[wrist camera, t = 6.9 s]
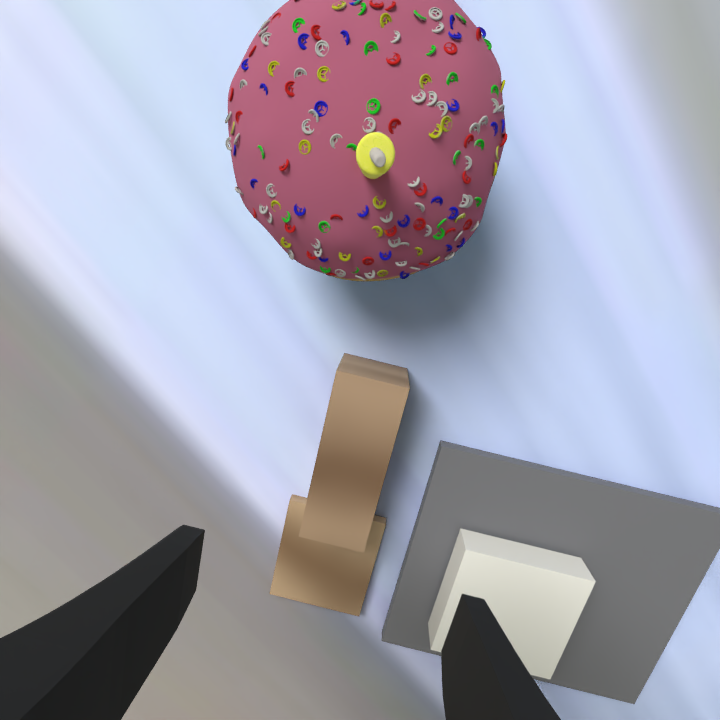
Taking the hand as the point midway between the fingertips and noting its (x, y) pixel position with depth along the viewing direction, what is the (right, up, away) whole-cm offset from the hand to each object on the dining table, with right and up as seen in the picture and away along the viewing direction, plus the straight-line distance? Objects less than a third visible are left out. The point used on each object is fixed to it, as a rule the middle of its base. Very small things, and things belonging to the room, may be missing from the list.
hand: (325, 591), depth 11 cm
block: (+9, -3, +8) cm, 12 cm away
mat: (+10, -5, +10) cm, 15 cm away
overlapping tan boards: (0, 0, +10) cm, 10 cm away
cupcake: (+1, +14, +6) cm, 15 cm away
